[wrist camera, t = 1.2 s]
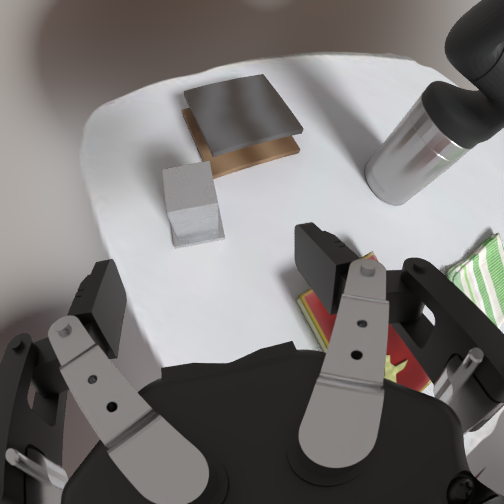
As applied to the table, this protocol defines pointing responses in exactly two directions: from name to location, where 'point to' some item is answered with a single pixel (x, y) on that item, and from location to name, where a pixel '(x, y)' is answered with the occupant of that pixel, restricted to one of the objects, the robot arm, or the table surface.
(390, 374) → the hardcover book
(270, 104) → the stand
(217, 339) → the table surface
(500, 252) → the dish towel
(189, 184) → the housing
